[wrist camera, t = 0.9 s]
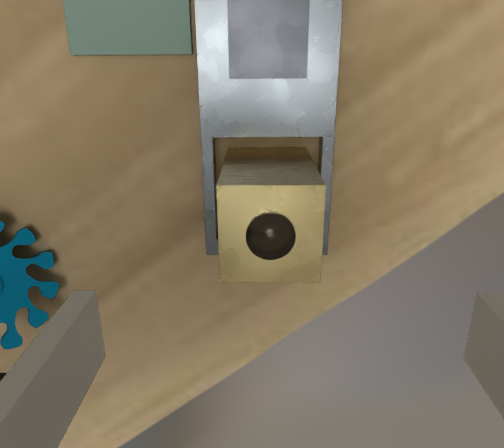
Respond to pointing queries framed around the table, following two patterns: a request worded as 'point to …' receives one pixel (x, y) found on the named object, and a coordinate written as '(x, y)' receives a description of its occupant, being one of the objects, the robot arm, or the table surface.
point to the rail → (266, 81)
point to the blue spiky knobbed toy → (21, 286)
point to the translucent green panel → (128, 27)
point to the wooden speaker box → (270, 215)
